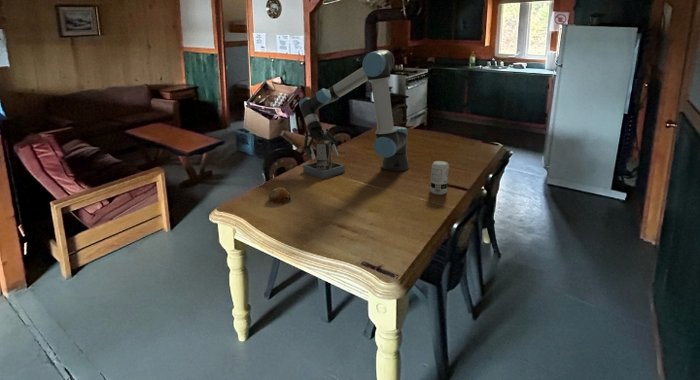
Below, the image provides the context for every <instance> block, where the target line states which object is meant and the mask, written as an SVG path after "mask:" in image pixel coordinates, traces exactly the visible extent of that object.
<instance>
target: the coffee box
mask: <svg viewBox="0 0 700 380" xmlns="http://www.w3.org/2000/svg"><path fill="white" fill-rule="evenodd" d="M332 158H333V157H332V145H331V140H323V139H319V141H318V142H317V143H316V162H317V169H318V170H321V171H325V170H329V169H331V168H332V160H333V159H332Z"/></svg>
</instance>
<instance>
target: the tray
mask: <svg viewBox="0 0 700 380" xmlns="http://www.w3.org/2000/svg"><path fill="white" fill-rule="evenodd" d="M302 166H303V168H302V169H303V173H305V174H307V175H311V176H313V177H315V178H318V179H320V180H325V179H328V178H332V177H335V176H338V175H341V173H342V174H346V165H345V164H342V163H338V162H335V161H332V168H331V169H329V170H325V171H321V170H318V169H317V161H313V162H310V163H307V164H303V165H302Z"/></svg>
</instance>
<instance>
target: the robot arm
mask: <svg viewBox="0 0 700 380" xmlns="http://www.w3.org/2000/svg"><path fill="white" fill-rule="evenodd" d="M394 65H395V57H394V55H393V53H392V52H391V51H389V50H388V49H379V50H374V51H371V52H369V53H367V54H366V55H365V56H364V58H363V60H362V65H361V67H360V68H359V69H357V70H355V71H354V72H352V73H350V74H349V75H347V76H345V78H342V79H341V80H339V81H338V82H337V83H335V84H333V85H332V86H331V87H328V88H327V89H326V88H321V89H319V90H318V91H317V92H316V93H314V94H313V96H311V97H303V98H301V99H300V100H299V102H298V105H299V110H300V112H301V115H302V116H303V119H304V123H305V125H306V127H307V130H308V131H305V132H304V134H303V135H304V141H303V147H302V149H303V150H306V151H307V152H308V154H309V155H310V156H311V158H312V161H315V159H317V156H316V154H315V152H314V150H313V147H311V146H312V145H313V142H314V140H315V141H316V140H331V150H332V151H333V154H334V156H335V157H336V158H337V157H338V156H339V152H338V150H339V149H338V146H337V145H338V143H339V140H338V139H337V138H336V137H335V136H334V135H333V134H332V133H331V132H330V130H329V129H328V128H326V129H324V130H323V127H322V124H321V122H320V119H319V117H318V113H317V111H318V110H319V109H321V108H322V107H323V106H325V105H328V104H331V103H333V102H336V101H338V100H339V99H340V98H342V96H345V95H346V94H348V93H349V92H351V91H352V90H354V89H355V88H358V87H359V86H361V85H362V84H364V83H365V82H367V81H368V82H369V83H370V84H371V91H372V98H373V107H374V113H375V114H374V115H375V121H376V130H375V131H374V133H375V135H374V136H375V141H374V143H373V149H374V152H375V153H376V154H377V155H378V156H379V157H381V158H383V160H382V162H381V168H382V169H384V170H386V171H390V172H404V171H407V170H409V169H410V162H409V158H408V154H407V151H408V150H407V149H408V135H409V133H408V128H407V127H403V126H394V125H395V124H394V117H393V111H392V103H391V101H392V100H391V96H390V95H391V93H390V86H389V80H390V78H391V70H392V69H393V68H394ZM309 136H310V137H311V139H310V141H309V143H308V139H309Z"/></svg>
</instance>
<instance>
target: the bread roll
mask: <svg viewBox="0 0 700 380" xmlns="http://www.w3.org/2000/svg"><path fill="white" fill-rule="evenodd" d="M291 199H292V195H291V193H290V191H288V190H287V189H286V188H285V187H276V188H274V189H272V190H271V191H270V192H269V194H268V200H269V202H270V203H271V204H275V205H284V204H287V203H289V202H291Z"/></svg>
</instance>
